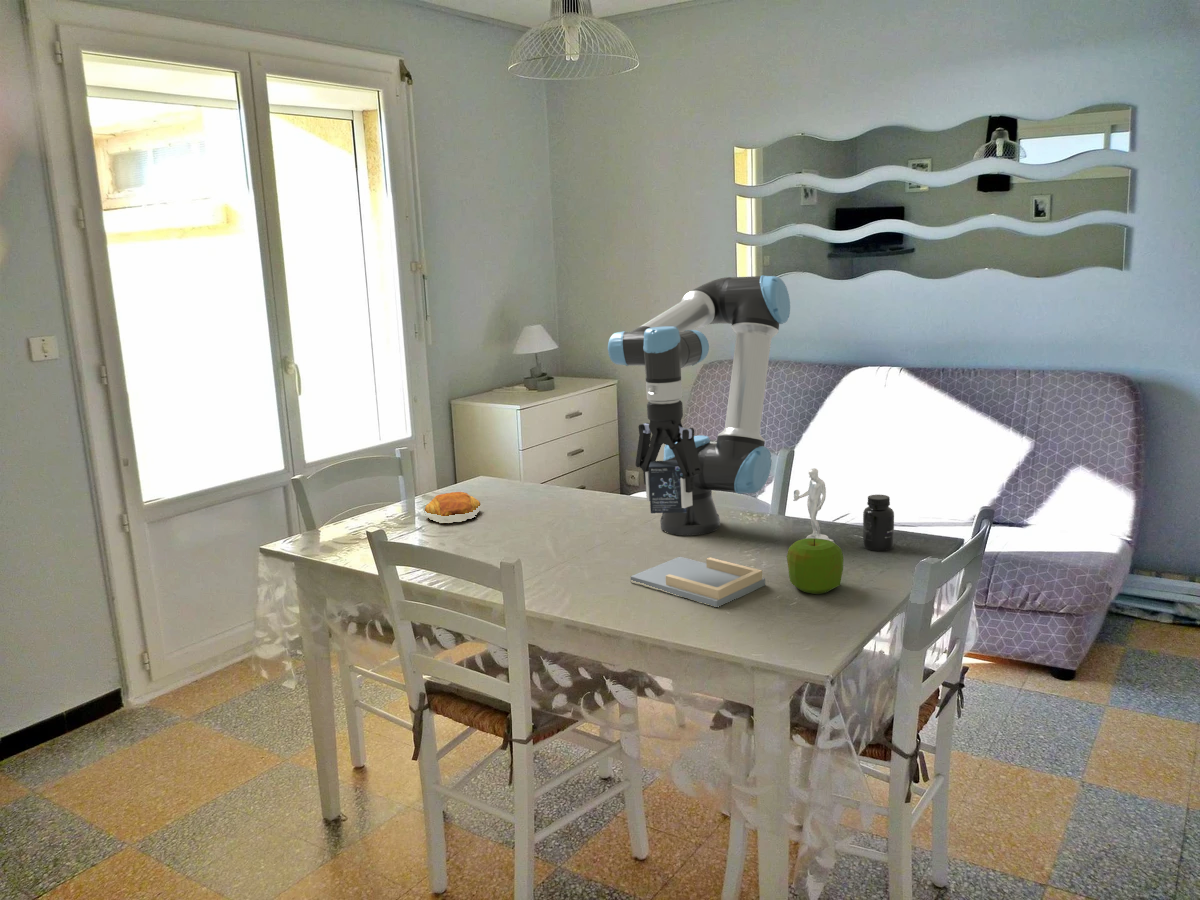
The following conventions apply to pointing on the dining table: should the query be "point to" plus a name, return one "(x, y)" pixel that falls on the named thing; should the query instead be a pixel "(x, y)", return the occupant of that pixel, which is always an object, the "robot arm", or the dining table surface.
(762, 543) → the dining table surface
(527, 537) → the dining table surface
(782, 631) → the dining table surface
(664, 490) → the box
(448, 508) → the croissant
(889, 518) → the supplement bottle
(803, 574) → the apple
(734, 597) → the dock
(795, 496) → the figurine
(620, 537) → the dining table surface
